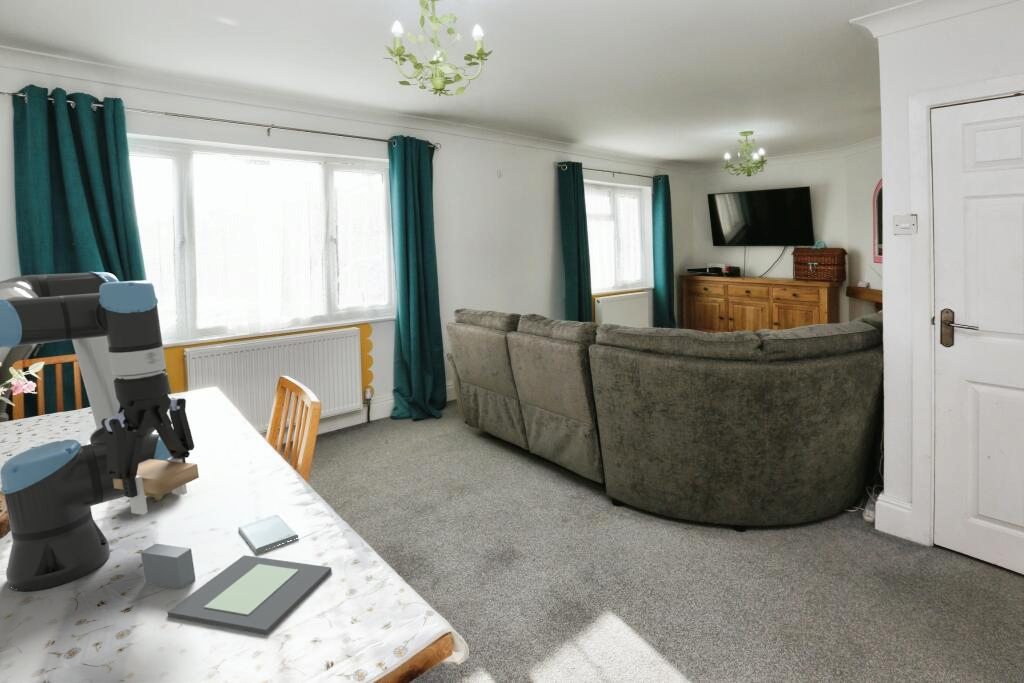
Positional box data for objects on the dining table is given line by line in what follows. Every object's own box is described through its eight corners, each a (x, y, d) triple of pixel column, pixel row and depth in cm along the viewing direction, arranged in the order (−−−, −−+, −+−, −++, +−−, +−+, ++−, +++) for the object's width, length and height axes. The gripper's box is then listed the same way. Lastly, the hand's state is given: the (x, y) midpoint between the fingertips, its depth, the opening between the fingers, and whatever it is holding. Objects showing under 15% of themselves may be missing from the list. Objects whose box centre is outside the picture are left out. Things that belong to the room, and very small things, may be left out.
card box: (114, 488, 94) (111, 474, 94) (151, 472, 101) (149, 459, 101) (163, 494, 91) (161, 480, 91) (198, 477, 98) (197, 463, 97)
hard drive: (298, 534, 112) (278, 513, 122) (255, 548, 107) (237, 525, 117) (299, 541, 113) (278, 520, 122) (256, 556, 107) (238, 533, 117)
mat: (167, 616, 90) (166, 610, 89) (244, 559, 106) (243, 554, 106) (266, 634, 84) (266, 628, 84) (331, 571, 100) (331, 566, 100)
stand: (145, 583, 99) (140, 552, 98) (160, 573, 102) (155, 543, 101) (181, 589, 97) (176, 557, 96) (195, 579, 100) (191, 548, 99)
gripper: (96, 389, 82) (120, 533, 86) (206, 362, 101) (222, 481, 105) (61, 387, 85) (86, 527, 88) (175, 361, 103) (192, 477, 107)
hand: (160, 502), depth 97 cm, fingers closed on card box, 7 cm apart
